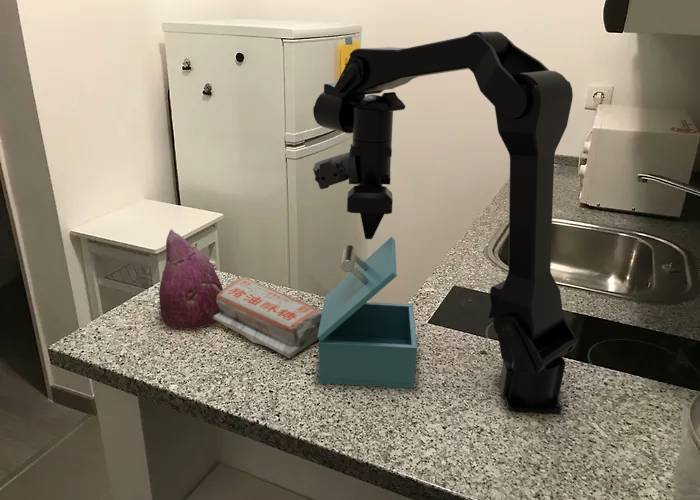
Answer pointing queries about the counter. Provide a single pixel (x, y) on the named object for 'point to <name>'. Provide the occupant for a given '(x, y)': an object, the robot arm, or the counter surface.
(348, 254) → the freezer lid
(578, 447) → the counter surface
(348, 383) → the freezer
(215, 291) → the vegetable
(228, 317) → the packaged product
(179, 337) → the counter surface
